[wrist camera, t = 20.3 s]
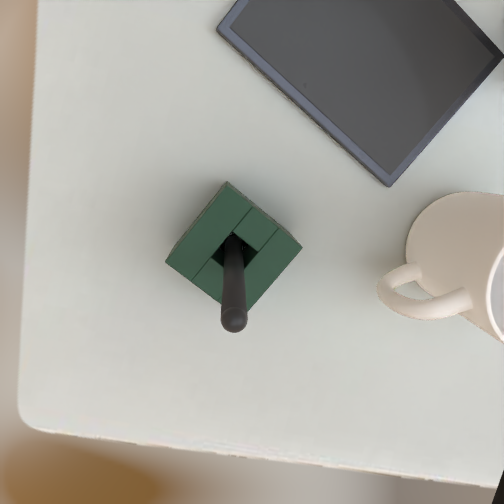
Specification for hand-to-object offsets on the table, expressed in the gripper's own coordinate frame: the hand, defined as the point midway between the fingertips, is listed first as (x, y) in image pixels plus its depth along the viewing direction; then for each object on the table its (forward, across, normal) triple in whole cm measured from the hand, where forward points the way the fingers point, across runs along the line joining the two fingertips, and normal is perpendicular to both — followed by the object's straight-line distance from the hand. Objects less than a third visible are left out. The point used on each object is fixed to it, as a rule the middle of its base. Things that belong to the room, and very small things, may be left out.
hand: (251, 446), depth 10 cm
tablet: (+25, +7, +17) cm, 31 cm away
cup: (+25, +17, +2) cm, 30 cm away
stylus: (+25, 0, 0) cm, 25 cm away
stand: (+25, 0, 0) cm, 25 cm away
